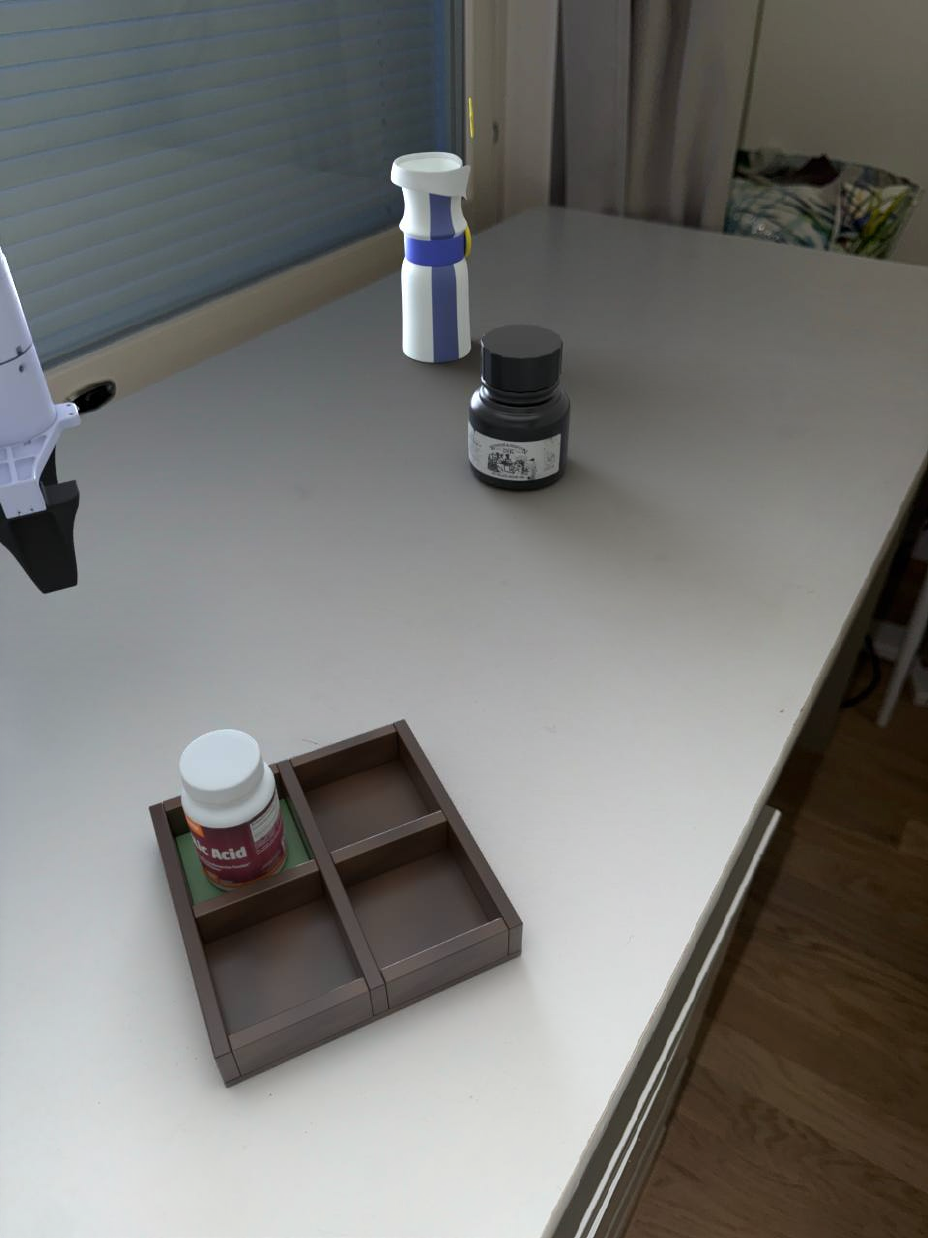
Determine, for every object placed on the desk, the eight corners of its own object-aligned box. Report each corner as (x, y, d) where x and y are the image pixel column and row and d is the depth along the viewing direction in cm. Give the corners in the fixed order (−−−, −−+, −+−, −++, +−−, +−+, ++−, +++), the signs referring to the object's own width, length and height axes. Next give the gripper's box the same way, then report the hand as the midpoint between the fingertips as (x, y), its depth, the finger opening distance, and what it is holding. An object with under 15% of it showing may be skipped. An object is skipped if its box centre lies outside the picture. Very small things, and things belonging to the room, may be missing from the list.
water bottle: (460, 327, 108) (457, 84, 92) (484, 356, 102) (485, 102, 86) (392, 336, 106) (377, 90, 90) (412, 367, 100) (400, 109, 84)
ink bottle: (450, 481, 82) (447, 354, 74) (483, 435, 88) (483, 313, 81) (556, 501, 79) (564, 371, 72) (581, 451, 86) (592, 327, 78)
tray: (226, 1089, 42) (214, 1059, 40) (160, 839, 53) (147, 806, 51) (521, 955, 47) (523, 923, 45) (406, 750, 58) (404, 717, 56)
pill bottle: (185, 879, 50) (149, 778, 45) (233, 813, 53) (206, 712, 48) (260, 907, 49) (233, 808, 43) (305, 838, 52) (285, 737, 47)
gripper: (71, 389, 46) (136, 600, 55) (40, 291, 56) (99, 483, 65) (-84, 419, 44) (11, 634, 52) (-87, 312, 54) (-8, 507, 63)
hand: (52, 553), depth 58 cm, fingers open, 7 cm apart
